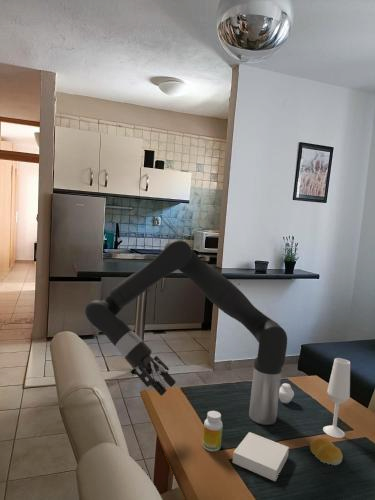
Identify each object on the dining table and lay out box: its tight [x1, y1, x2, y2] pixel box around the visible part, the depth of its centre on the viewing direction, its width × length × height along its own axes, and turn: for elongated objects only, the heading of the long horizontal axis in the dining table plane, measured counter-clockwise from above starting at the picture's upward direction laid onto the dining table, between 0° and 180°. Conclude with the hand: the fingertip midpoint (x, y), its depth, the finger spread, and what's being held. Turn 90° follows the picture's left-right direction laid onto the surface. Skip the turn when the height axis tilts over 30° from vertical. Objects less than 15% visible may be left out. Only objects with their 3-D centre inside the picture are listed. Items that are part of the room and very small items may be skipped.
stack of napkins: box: [232, 431, 290, 482], centre depth 100 cm, size 12×12×3 cm
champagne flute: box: [322, 357, 351, 439], centre depth 117 cm, size 7×7×24 cm
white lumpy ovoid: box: [279, 382, 295, 404], centre depth 136 cm, size 6×6×7 cm
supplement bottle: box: [202, 410, 223, 452], centre depth 105 cm, size 5×5×10 cm
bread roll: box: [309, 437, 343, 466], centre depth 105 cm, size 8×9×4 cm
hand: (169, 388), depth 108 cm, fingers open, 8 cm apart
